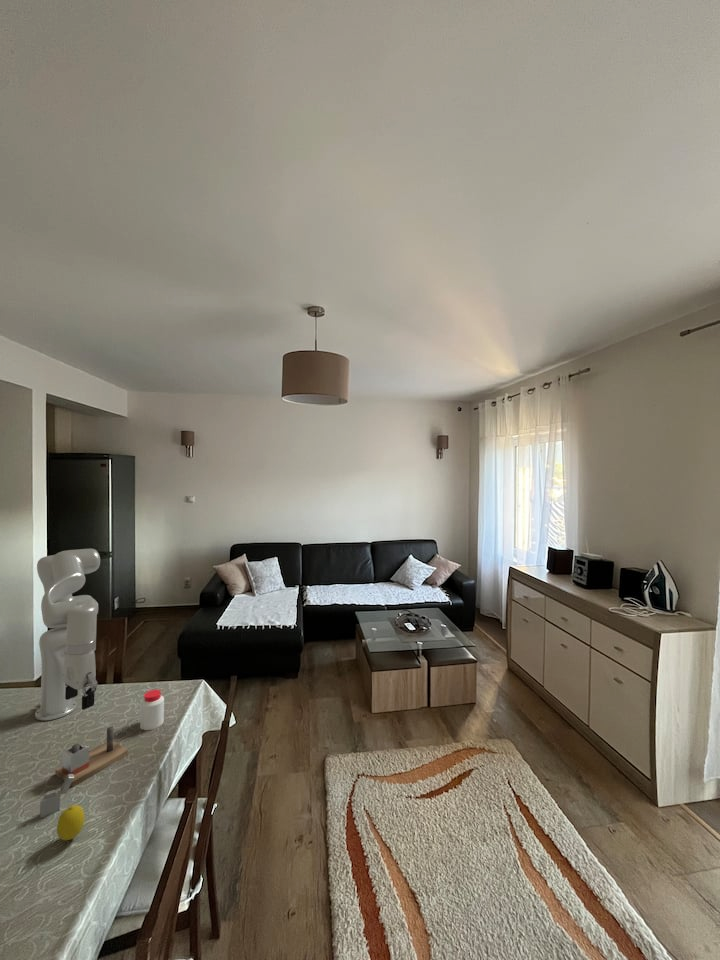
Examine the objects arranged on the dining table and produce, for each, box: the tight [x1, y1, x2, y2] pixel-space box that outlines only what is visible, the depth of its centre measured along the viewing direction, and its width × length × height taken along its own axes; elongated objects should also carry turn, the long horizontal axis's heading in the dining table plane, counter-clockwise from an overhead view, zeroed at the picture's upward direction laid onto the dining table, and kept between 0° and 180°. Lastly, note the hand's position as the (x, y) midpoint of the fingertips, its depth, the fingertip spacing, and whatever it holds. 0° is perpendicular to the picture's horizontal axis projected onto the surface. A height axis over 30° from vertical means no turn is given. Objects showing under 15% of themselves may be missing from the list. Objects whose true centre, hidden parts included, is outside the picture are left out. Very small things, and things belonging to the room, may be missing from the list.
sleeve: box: [61, 741, 90, 775], centre depth 119 cm, size 5×5×6 cm
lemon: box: [56, 804, 86, 841], centre depth 98 cm, size 6×6×8 cm
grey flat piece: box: [39, 774, 74, 819], centre depth 107 cm, size 7×2×8 cm, turn 130°
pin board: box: [54, 726, 129, 788], centre depth 124 cm, size 10×16×8 cm, turn 151°
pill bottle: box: [139, 689, 165, 731], centre depth 145 cm, size 8×8×11 cm
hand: (79, 702), depth 121 cm, fingers open, 9 cm apart
